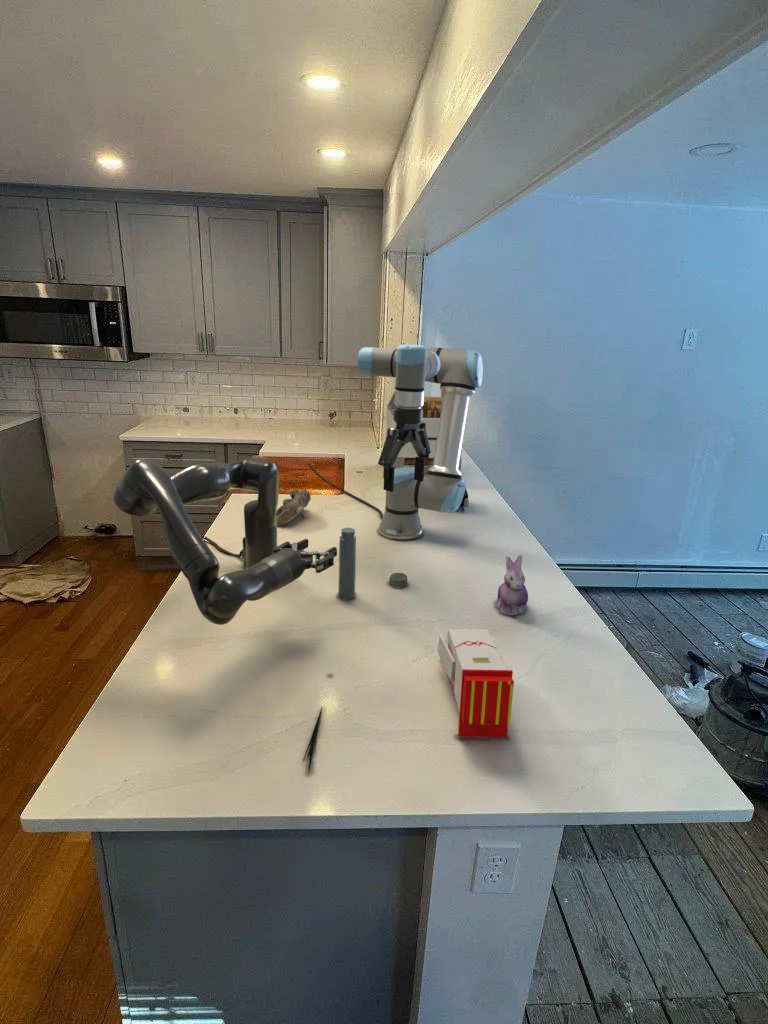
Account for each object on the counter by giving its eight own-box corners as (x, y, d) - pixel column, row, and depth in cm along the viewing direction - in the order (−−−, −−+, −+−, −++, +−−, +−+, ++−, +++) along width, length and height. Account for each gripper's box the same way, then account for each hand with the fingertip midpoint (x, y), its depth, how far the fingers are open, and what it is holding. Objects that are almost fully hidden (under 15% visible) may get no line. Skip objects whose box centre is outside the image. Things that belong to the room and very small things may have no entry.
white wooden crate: (382, 463, 289) (386, 382, 275) (445, 464, 293) (451, 384, 279) (390, 482, 257) (394, 392, 243) (460, 483, 261) (468, 394, 247)
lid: (386, 582, 164) (386, 574, 163) (400, 578, 167) (400, 571, 166) (395, 589, 160) (396, 581, 160) (410, 585, 163) (410, 578, 162)
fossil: (279, 495, 220) (308, 475, 215) (295, 514, 223) (324, 494, 218) (263, 521, 201) (295, 499, 196) (281, 540, 203) (313, 519, 198)
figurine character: (468, 516, 224) (463, 500, 237) (471, 498, 221) (465, 483, 234) (452, 515, 224) (447, 499, 237) (453, 498, 220) (449, 482, 234)
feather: (331, 679, 122) (336, 673, 122) (307, 777, 96) (313, 769, 95) (324, 675, 122) (329, 669, 121) (298, 772, 95) (304, 764, 95)
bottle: (357, 594, 157) (359, 529, 150) (349, 601, 153) (351, 534, 146) (343, 590, 158) (345, 525, 152) (335, 597, 155) (336, 530, 148)
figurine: (510, 620, 147) (517, 567, 142) (486, 602, 155) (492, 552, 150) (538, 612, 151) (545, 561, 146) (513, 595, 159) (519, 546, 154)
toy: (488, 613, 130) (523, 677, 101) (484, 667, 133) (517, 744, 104) (435, 612, 130) (455, 676, 101) (432, 666, 133) (451, 743, 103)
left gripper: (254, 577, 131) (298, 553, 144) (304, 593, 124) (345, 567, 137) (253, 547, 128) (298, 526, 141) (303, 562, 122) (345, 539, 135)
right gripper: (424, 400, 158) (419, 473, 165) (366, 409, 140) (363, 491, 147) (447, 404, 154) (441, 479, 161) (389, 414, 135) (386, 498, 142)
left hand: (321, 546), depth 139 cm, fingers open, 8 cm apart
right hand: (404, 485), depth 154 cm, fingers open, 13 cm apart
